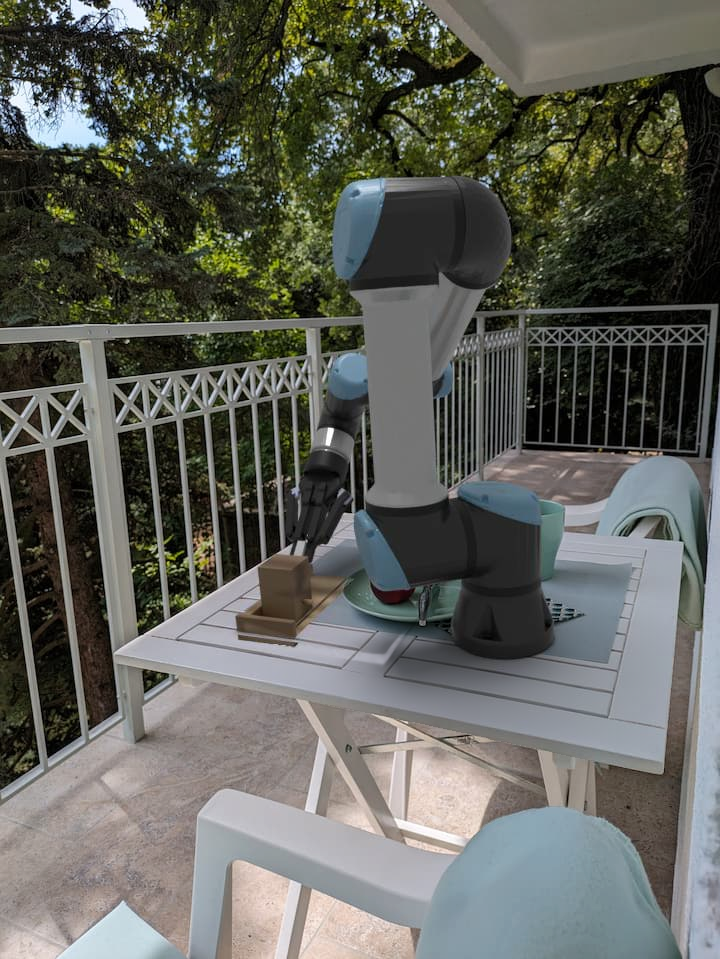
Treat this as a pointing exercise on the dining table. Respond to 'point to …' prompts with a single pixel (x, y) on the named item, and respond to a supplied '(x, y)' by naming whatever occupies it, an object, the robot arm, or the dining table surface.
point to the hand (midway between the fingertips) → (294, 579)
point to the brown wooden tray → (254, 621)
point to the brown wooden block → (285, 587)
